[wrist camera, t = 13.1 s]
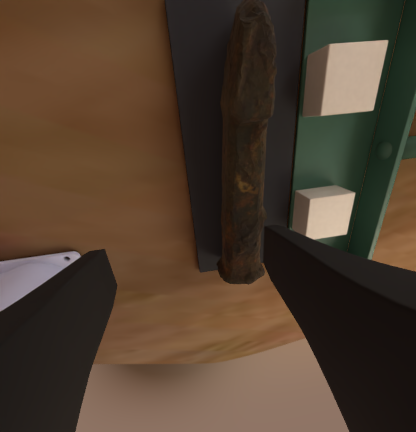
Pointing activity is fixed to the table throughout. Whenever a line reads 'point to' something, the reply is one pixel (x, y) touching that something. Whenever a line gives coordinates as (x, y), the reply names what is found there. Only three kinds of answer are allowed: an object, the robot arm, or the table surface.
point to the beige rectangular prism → (343, 78)
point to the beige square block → (322, 211)
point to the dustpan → (359, 116)
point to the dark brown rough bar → (246, 139)
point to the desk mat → (212, 115)
